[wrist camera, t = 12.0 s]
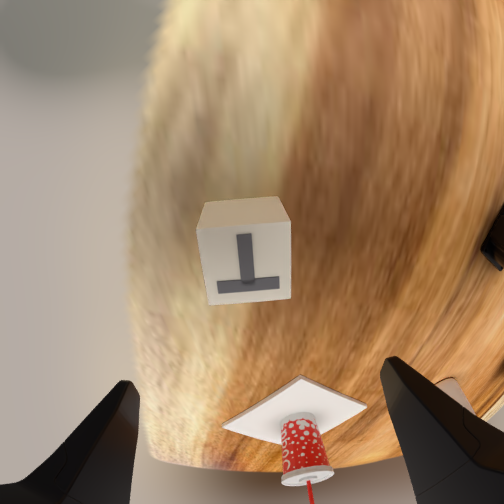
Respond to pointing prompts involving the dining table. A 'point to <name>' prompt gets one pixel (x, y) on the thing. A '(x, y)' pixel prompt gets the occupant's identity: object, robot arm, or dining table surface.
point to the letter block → (245, 250)
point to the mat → (295, 409)
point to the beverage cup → (303, 452)
